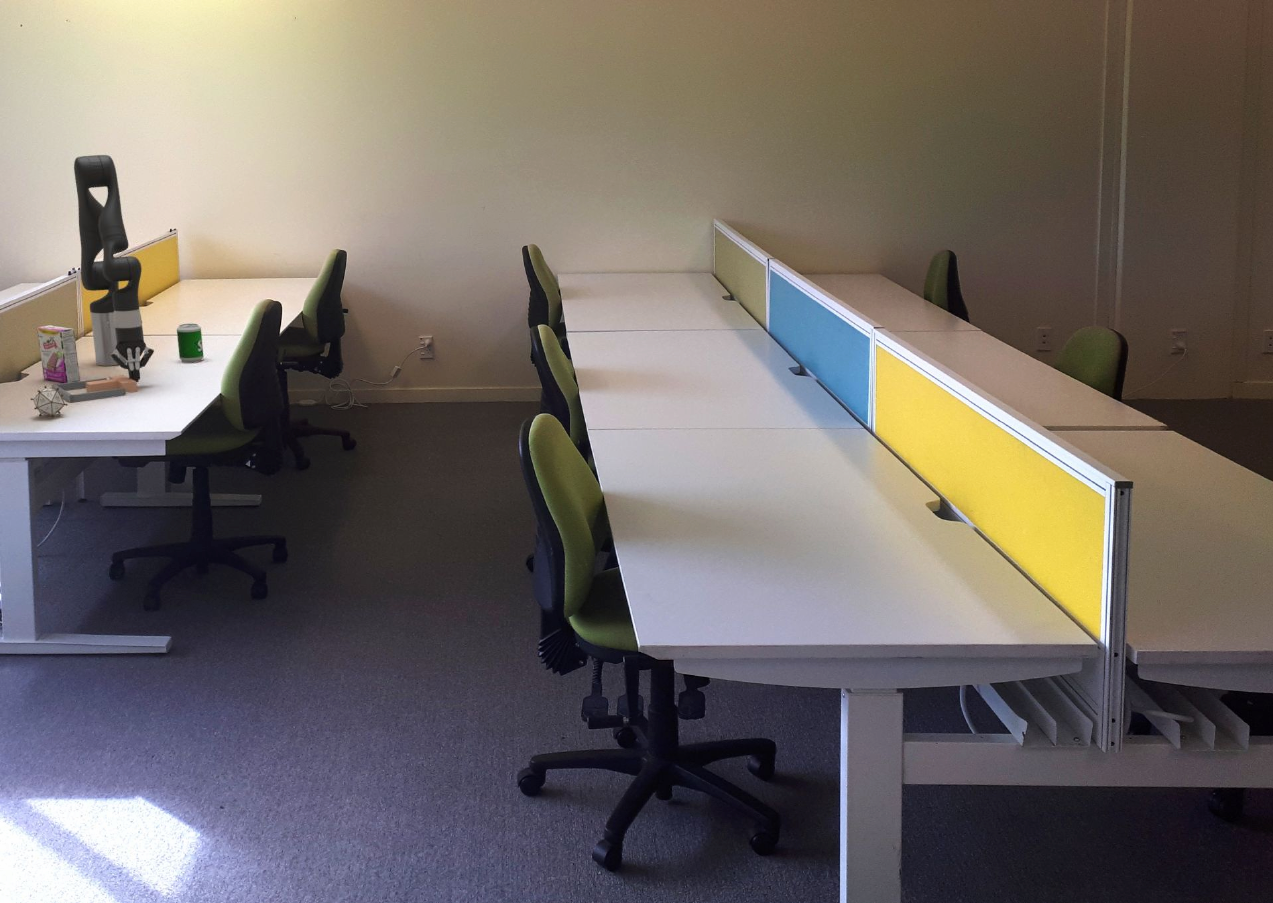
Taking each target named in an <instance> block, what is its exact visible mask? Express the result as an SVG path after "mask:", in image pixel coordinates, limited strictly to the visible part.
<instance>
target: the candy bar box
mask: <svg viewBox="0 0 1273 903" xmlns="http://www.w3.org/2000/svg"><path fill="white" fill-rule="evenodd" d="M36 330H37V337H38V345H39V350H40V359H41V366H42V375H43V379H44V380H46V381H53V382H58V383H61V384H62V383H70V382H77V381H81V377H80V367H79V363H78V362H79V361H78V360H79V359H78V352H77V345H76V344H77V343H76V337H75V329H74V328H71V327H64V326H58V325H56V326H55V325H50V324H49V325H44V326H39V327H37V328H36Z"/></svg>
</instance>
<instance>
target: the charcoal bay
mask: <svg viewBox="0 0 1273 903" xmlns="http://www.w3.org/2000/svg"><path fill="white" fill-rule="evenodd" d="M100 380H108V378H107V377H103V378H94V379H87V380H86V379H85V380H80V381H76V382H70V383H62V382H61V383H55V384H51V389H54V390H57V388H59V390H58V392H59V393H60V395H62V394H63V395H64V396H63V397H62V398H63V400H66V401H67V402H68V403H77V402H85V401H91V400H99V398H100V399H106V398H107V397H108V398H113V397H112V396H115V397H122V396H126V395H127V393H126V391H125V388H118V389H111V390H103V391H96V392H88V393H87V392H83V393H82V392H81V393H75V394H72V393H70V392H68V391H72V390H79V389H80V390H81V389H86V383H85V382H92V381H100ZM125 394H126V395H125ZM121 395H122V396H121Z"/></svg>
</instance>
